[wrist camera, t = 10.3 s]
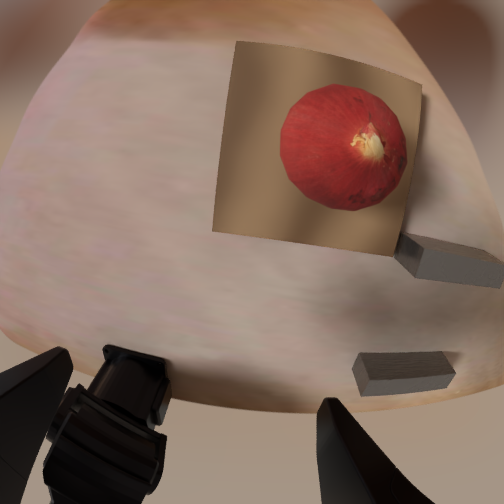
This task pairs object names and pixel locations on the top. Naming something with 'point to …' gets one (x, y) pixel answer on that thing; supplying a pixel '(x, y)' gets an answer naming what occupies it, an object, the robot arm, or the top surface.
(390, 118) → the onion
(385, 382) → the twin grey rails
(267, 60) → the tan board
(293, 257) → the top surface
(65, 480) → the robot arm
